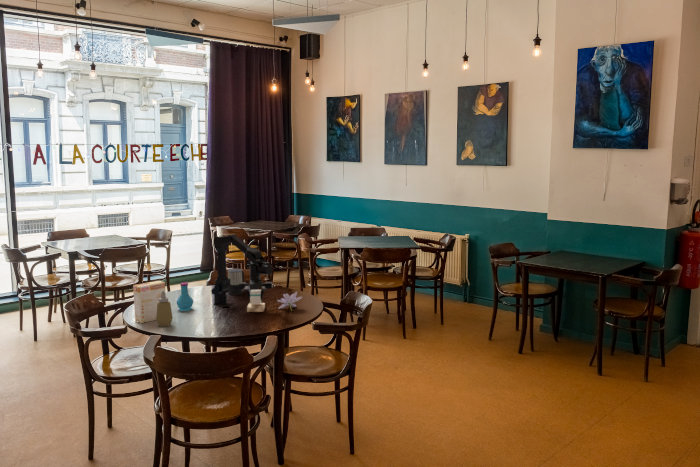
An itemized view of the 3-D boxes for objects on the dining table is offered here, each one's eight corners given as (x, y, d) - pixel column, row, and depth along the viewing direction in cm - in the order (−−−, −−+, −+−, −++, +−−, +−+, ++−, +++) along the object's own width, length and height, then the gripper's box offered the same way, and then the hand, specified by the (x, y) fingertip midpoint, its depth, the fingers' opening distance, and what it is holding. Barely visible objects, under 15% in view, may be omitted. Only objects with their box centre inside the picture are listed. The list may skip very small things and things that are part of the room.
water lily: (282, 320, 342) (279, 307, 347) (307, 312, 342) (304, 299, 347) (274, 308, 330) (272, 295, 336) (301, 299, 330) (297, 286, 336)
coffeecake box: (161, 315, 330) (159, 280, 327) (167, 317, 325) (165, 282, 322) (134, 320, 319) (132, 284, 316) (140, 323, 314) (138, 286, 311)
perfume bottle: (197, 308, 344) (196, 282, 342) (186, 312, 336) (185, 285, 333) (184, 306, 348) (183, 280, 345) (173, 310, 339) (172, 284, 337)
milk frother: (241, 295, 373) (240, 271, 371) (216, 295, 374) (215, 271, 371) (245, 289, 387) (245, 266, 385) (221, 289, 388) (220, 266, 385)
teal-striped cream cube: (250, 304, 336) (249, 292, 335) (251, 301, 342) (250, 289, 341) (260, 304, 337) (260, 292, 336) (261, 301, 342) (261, 289, 341)
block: (247, 312, 335) (246, 307, 335) (249, 308, 344) (248, 303, 344) (263, 312, 336) (263, 307, 335) (265, 308, 345) (264, 302, 344)
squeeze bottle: (158, 323, 314) (156, 289, 312) (174, 323, 315) (172, 289, 312) (154, 328, 306) (153, 293, 304) (171, 327, 307) (169, 292, 304)
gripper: (236, 276, 328) (237, 304, 331) (271, 275, 330) (271, 303, 332) (238, 272, 340) (239, 299, 342) (272, 271, 341) (272, 298, 343)
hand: (255, 300), depth 339 cm, fingers closed on teal-striped cream cube, 5 cm apart
